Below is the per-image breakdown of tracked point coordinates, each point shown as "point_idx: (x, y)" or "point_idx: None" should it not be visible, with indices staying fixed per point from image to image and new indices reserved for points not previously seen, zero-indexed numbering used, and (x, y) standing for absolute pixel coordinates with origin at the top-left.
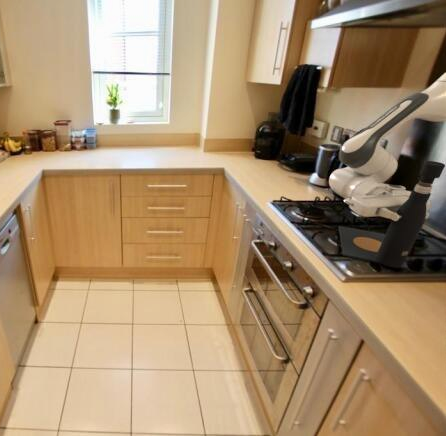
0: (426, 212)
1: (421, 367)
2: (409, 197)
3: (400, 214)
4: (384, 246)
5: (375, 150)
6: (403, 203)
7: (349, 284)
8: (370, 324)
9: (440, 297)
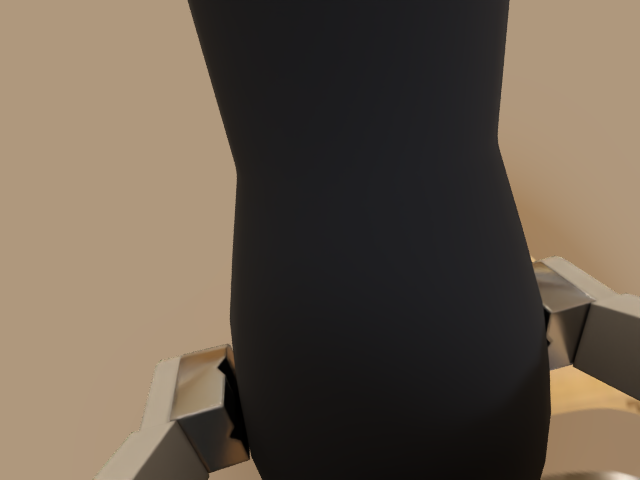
0: (159, 380)
1: None
2: (501, 73)
3: None
4: None
5: None
6: (516, 272)
7: (607, 392)
8: (532, 260)
9: None
